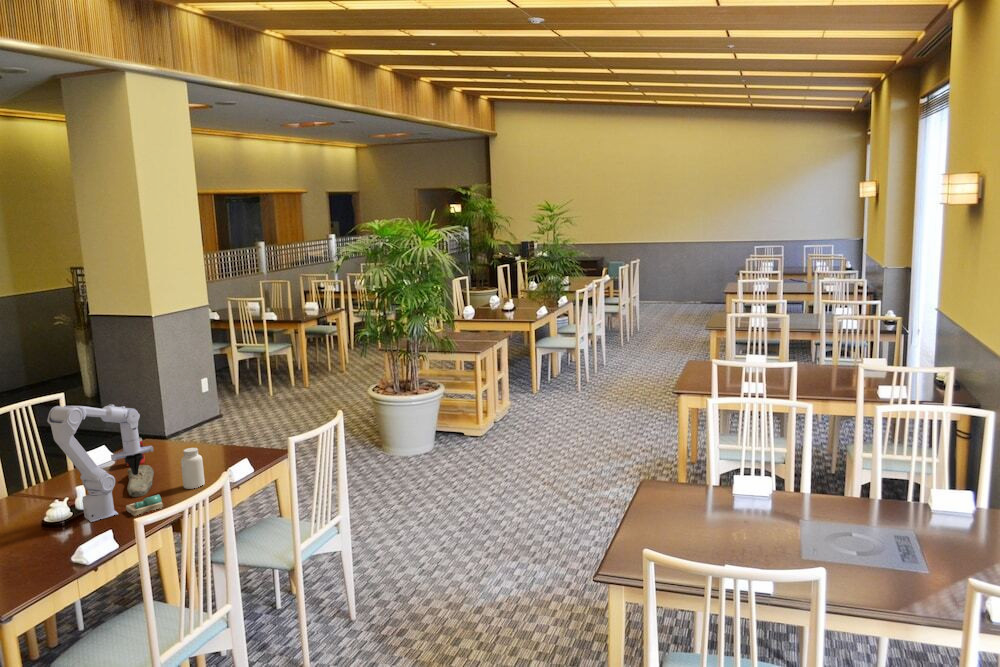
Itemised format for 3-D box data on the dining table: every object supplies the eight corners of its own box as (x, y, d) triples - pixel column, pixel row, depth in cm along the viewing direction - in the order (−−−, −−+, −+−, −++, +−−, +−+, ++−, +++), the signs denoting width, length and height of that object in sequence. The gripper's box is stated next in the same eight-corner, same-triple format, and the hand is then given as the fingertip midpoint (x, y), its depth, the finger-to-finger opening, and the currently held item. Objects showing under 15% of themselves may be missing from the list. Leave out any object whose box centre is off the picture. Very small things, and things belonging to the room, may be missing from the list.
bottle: (162, 504, 286) (138, 511, 281) (159, 505, 289) (135, 511, 284) (160, 494, 286) (136, 500, 281) (156, 494, 289) (133, 500, 284)
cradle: (134, 516, 277) (133, 511, 277) (126, 510, 284) (125, 505, 283) (163, 508, 284) (162, 502, 284) (155, 502, 290) (154, 497, 290)
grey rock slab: (124, 503, 296) (152, 500, 300) (123, 490, 295) (151, 487, 299) (129, 472, 328) (154, 469, 332) (128, 460, 327) (154, 457, 331)
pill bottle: (200, 489, 303) (196, 452, 301) (180, 490, 303) (175, 453, 301) (208, 482, 311) (204, 446, 309) (188, 482, 311) (184, 446, 309)
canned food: (131, 461, 344) (127, 437, 343) (148, 460, 344) (145, 436, 342) (122, 467, 337) (118, 442, 335) (140, 466, 336) (136, 442, 335)
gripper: (146, 432, 298) (151, 466, 300) (106, 442, 288) (111, 476, 290) (153, 436, 293) (157, 470, 295) (112, 445, 283) (117, 481, 285)
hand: (135, 474), depth 292 cm, fingers closed
